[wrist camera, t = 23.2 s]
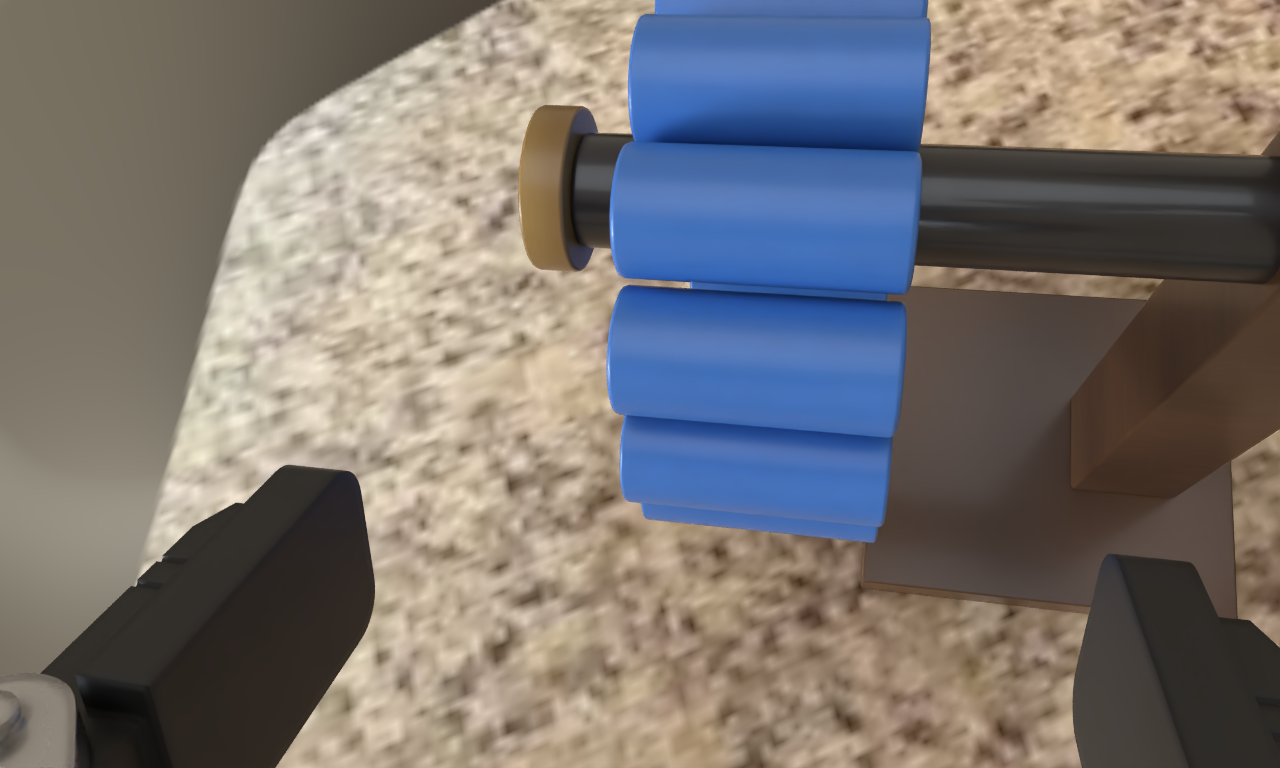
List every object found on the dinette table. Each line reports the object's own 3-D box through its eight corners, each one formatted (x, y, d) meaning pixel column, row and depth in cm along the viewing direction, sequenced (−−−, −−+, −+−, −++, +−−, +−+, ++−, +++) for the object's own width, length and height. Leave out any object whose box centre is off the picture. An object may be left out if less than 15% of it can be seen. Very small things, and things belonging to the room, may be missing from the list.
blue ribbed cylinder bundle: (894, 144, 23) (944, -185, 14) (865, 564, 21) (903, 484, 12) (718, 138, 24) (661, -178, 15) (671, 543, 22) (572, 453, 13)
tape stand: (1207, 322, 27) (1661, -148, 13) (1219, 628, 25) (1793, 479, 10) (672, 288, 30) (545, -132, 15) (635, 562, 28) (444, 369, 13)
